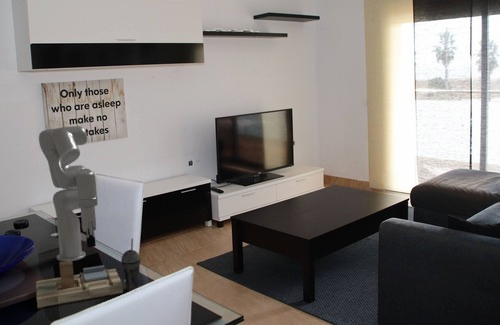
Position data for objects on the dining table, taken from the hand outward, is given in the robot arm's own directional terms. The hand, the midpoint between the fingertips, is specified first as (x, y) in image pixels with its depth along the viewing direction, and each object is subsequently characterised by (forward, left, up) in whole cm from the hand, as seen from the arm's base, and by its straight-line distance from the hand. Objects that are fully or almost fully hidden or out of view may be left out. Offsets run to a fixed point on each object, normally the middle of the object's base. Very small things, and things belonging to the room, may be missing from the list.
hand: (91, 246), depth 210 cm
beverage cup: (+19, +12, -14) cm, 27 cm away
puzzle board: (+12, -7, -13) cm, 19 cm away
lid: (+9, 0, -9) cm, 13 cm away
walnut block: (+12, -11, -11) cm, 20 cm away
